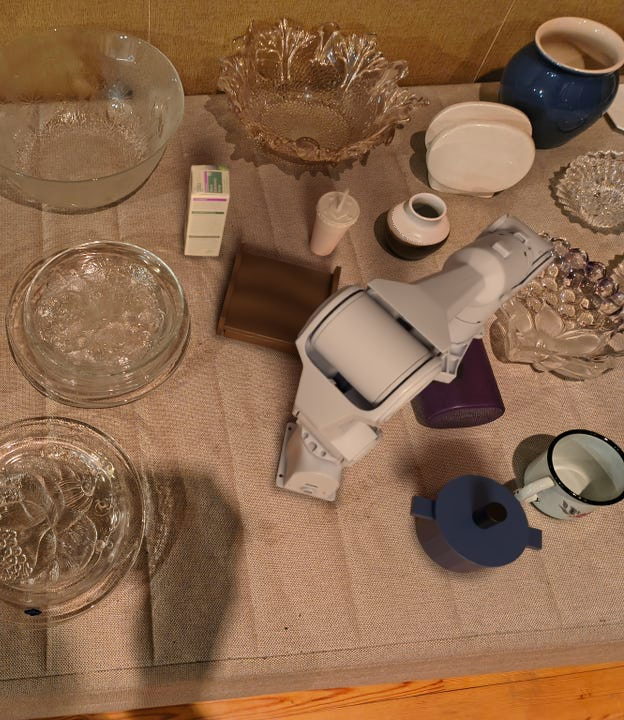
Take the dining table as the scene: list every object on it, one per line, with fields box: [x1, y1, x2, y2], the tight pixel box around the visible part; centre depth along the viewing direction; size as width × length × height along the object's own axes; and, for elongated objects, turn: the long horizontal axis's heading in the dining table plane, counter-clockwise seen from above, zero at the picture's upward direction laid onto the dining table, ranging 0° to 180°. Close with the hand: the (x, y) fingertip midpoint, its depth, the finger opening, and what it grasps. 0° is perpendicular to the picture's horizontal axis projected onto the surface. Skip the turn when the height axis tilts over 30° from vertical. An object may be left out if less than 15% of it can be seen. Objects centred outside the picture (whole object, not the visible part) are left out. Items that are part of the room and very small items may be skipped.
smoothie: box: [309, 188, 361, 257], centre depth 101 cm, size 6×6×14 cm
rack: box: [215, 241, 342, 357], centre depth 99 cm, size 14×16×5 cm
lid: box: [434, 474, 530, 569], centre depth 79 cm, size 11×11×5 cm
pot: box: [409, 493, 543, 574], centre depth 84 cm, size 10×16×7 cm, turn 74°
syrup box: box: [183, 164, 231, 257], centre depth 101 cm, size 6×6×14 cm
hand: (419, 357), depth 87 cm, fingers open, 7 cm apart
